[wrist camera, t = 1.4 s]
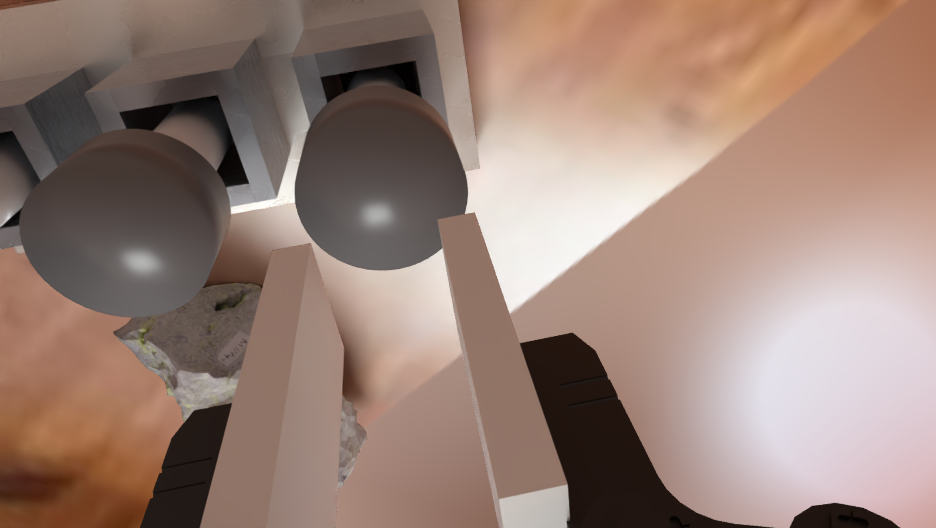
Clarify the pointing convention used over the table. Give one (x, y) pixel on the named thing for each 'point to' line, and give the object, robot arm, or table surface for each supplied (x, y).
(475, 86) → the table surface
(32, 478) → the table surface
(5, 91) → the square socket rack
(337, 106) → the knob
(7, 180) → the knob
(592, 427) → the robot arm
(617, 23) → the table surface
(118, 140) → the knob
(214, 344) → the rock
